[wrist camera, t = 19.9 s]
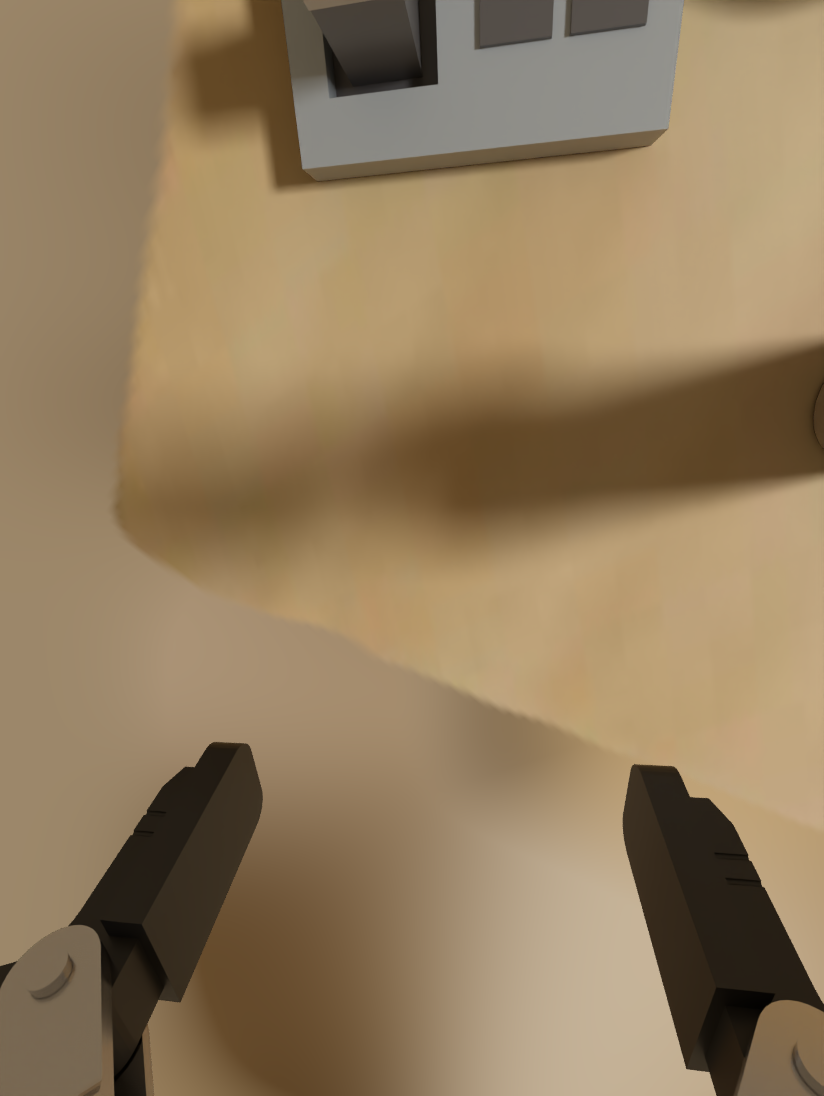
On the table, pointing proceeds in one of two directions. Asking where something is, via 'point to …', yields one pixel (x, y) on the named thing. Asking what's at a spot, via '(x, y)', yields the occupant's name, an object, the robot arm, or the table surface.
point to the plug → (372, 37)
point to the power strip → (490, 86)
